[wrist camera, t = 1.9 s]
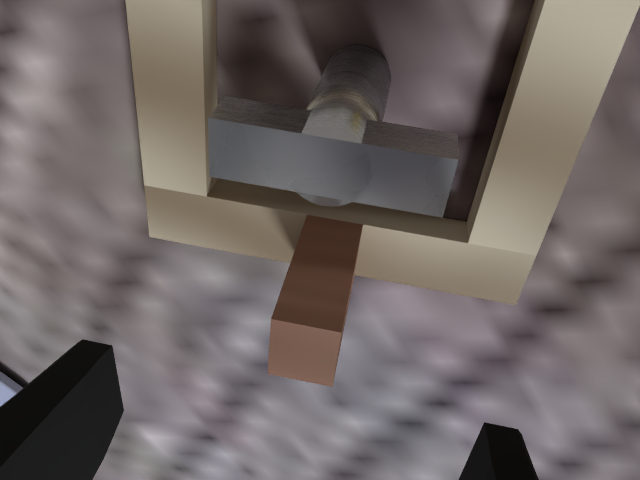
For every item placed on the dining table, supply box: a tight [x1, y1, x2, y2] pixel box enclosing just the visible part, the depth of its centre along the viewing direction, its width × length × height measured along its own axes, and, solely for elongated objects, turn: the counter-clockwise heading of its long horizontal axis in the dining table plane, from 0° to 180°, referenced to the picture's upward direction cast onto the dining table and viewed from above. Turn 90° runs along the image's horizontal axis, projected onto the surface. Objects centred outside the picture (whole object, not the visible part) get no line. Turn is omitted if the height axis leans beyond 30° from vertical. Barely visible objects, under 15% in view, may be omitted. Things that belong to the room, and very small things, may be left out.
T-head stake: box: [208, 45, 459, 218], centre depth 12 cm, size 4×2×4 cm, turn 84°
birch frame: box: [125, 0, 640, 387], centre depth 12 cm, size 10×10×5 cm
